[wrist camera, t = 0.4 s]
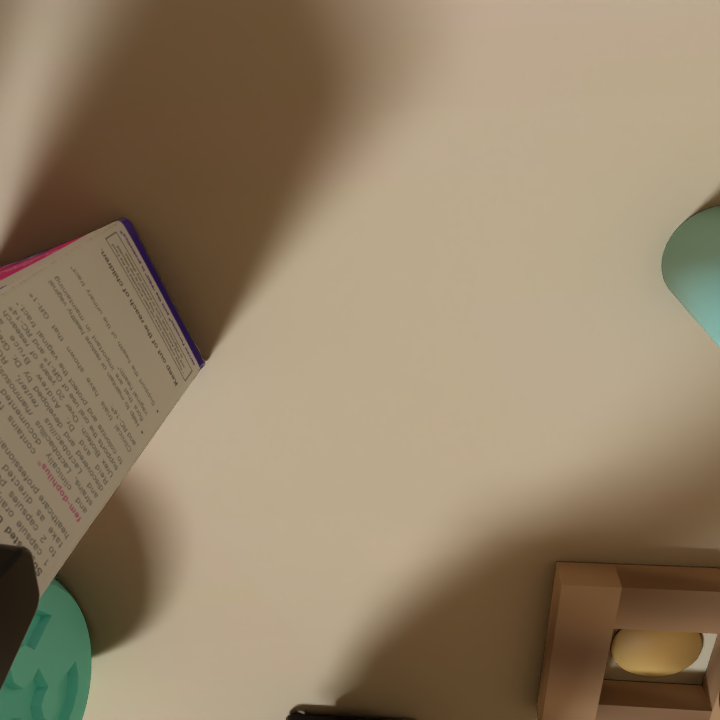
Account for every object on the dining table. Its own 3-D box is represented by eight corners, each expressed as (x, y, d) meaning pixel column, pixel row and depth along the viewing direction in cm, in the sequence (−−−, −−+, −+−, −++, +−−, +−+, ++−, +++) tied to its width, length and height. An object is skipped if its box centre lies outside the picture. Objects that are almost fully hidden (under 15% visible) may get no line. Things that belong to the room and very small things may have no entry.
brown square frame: (743, 720, 29) (755, 747, 28) (536, 708, 30) (540, 733, 29) (798, 571, 25) (814, 596, 24) (556, 561, 26) (561, 584, 25)
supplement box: (126, 207, 21) (-157, 388, 11) (210, 363, 23) (42, 632, 13) (-19, 263, 22) (-389, 471, 12) (74, 406, 25) (-170, 678, 15)
